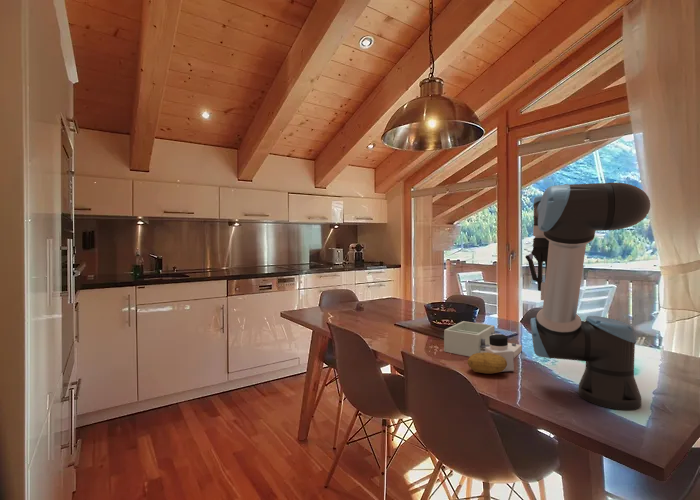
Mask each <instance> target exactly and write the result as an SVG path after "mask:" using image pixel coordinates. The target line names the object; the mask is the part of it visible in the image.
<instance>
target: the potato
mask: <svg viewBox="0 0 700 500" xmlns="http://www.w3.org/2000/svg"><path fill="white" fill-rule="evenodd" d="M468 357H469V356H468ZM467 365H468V367H469V368H470V369H471V370H472V371H473V372H475V373H480V374H485V375H492V374H498V373H502V372H501V371H503V370H504V369H505V368H506V366H507V361H506V359H505V358H503V357H502V356H499V355H496V354H492V353H488V352H483V353H475V354H473V355H471V356H470V357H469V358H468V359H467Z"/></svg>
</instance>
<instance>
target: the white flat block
mask: <svg viewBox="0 0 700 500" xmlns="http://www.w3.org/2000/svg"><path fill="white" fill-rule="evenodd" d="M489 345H490V344H489ZM522 345H523V344H517V343H516V342H508V347H507V348H509V349H511V350H513V357H514V359H515V358H516V357H517V356H518V355H519V354H520V353H521V352H522V351H523V346H522ZM483 352H485V348H483V349H482V350H480V353H483Z"/></svg>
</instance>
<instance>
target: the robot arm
mask: <svg viewBox="0 0 700 500" xmlns="http://www.w3.org/2000/svg"><path fill="white" fill-rule="evenodd" d="M532 206H533V225H532V226H533V227H532V228H533V230H532V231H533V232H532V233H533V234H532V235H533V239H532V240H533V241H532V244H533V246H532V250H531V253H529V254H527V255H525V259H526V260H527V262H528V266H529V270H530V273H531V274H530V275H531V279H532V280H533V281H535V282H537V290H538V291H539V292H540V301H543V305H542V308H541V309H540V310H539V311H538V312H537V314H536V317H531V318H530V331H531V332H530V333H531V339H532V340H531V341H532V346H533V352H534V354H535V355H536V356H537V357H540V358H545V359H550V360H551V359H556V360H567V361H568V360H569V361H577V362H579V361H580V362H585V369H584V372H583V373H582V376H581V379H580V381H579V383H578V387H577V390H578V391H577V393H578V395H579V397H580V398H581V399H583V400H585V401H587V402H589V403H591V404H594V405H597V406H600V407H604V408H606V409H607V408H608V409H613V410H619V411H620V410H623V411H631V410H636V409H637V410H638V409H640V408H641V407H642V396H641V393H640V390H639V387H638V384H637V382H636V379H635V378H636V377H635V353H636V352H635V349H636V348H635V347H636V346H635V345H636V342H637V341H636V336H635V329H634V327H633V326H632V325H631V324H630V323H627V322H625V321H622V320H618V319H615V318H610V317H605V316H598V315H587V316H586V318H585V320H584V321H583V320H582V319H581V317H580V316H579V314H578V313H577V312H578V306H579V299H580V298H579V297H580V291H581V285H582V277H583V272H584V271H583V269H584V262H585V254H586V248H587V244H589V243H590V242H593V240H594V239H595V235H596V231H617V230H623V229H626V228H630V227H633V226H635V225H637V224H639V223H641V222H642V221H643V220H644V219H645V218H646V217H647V216H648V214H649V213H650V209H651V200H650V198H649V196H648V194H647V193H646V192H645V191H644V190H643V189H642V188H639V187H638V186H636V185H633V184H629V183H624V182H602V183H601V182H599V183H598V182H597V183H576V184H575V183H573V184H570V183H569V184H568V183H565V184H559V185H558V184H557V185H551V186H549V187H547V188H546V189H545V190H544V192H543V194H542V195H537V196H535V197H534V198H533V204H532ZM533 259H536V261H537V272H536V268H535V264H534V261H533ZM544 263H545V265H544V266H545V271H544V272H545V275H544V278H545V279H544V280H543V269H544V268H543V264H544ZM543 281H544V282H543Z"/></svg>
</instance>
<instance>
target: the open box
mask: <svg viewBox="0 0 700 500" xmlns="http://www.w3.org/2000/svg"><path fill="white" fill-rule="evenodd" d="M443 331H444V332H443V333H444V334H443V352H445V353H451V354H455V355H460V356H466V357H470V356H471V355H473V354H475V353H480V350H482V349H483V348H485V347H490V345H489V344H490V340H489V336H490V335H493V334H496V333H495V325H492V324H488V323H487V324H486V323H479V322H471V321H465V320H463V321H460V322H458V323H456V324H454V325H452V326H450V327H447V328H445V329H444V330H443Z"/></svg>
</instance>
